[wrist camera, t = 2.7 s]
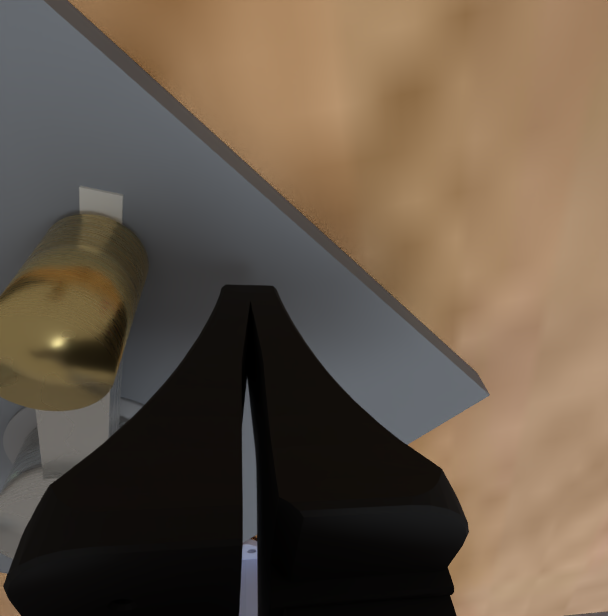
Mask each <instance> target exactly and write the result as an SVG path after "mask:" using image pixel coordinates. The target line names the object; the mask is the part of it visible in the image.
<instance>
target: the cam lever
mask: <svg viewBox="0 0 608 616" xmlns="http://www.w3.org/2000/svg"><path fill="white" fill-rule="evenodd" d="M148 270H149V260H148V255H147V252H146V250H145V248H144V246H143V244H142V243H141V241H140V240H139V239H138V237H137V236H136V235H135V234H134V233H133V232H132V231H130V230H129V229H128V228H127V227H125V226H124V225H122V224H120V223H119V222H116V221H114V220H112V219H110V218H107V217H103V216H99V215H93V214H77V215H72V216H68V217H65V218H63V219H61V220H59V221H58V222H56V223H55V224H54V225H53V226H52V227H51V228H50V229H49V230H48V232H47V233H46V234H45V236H44V237H43V238H42V240H41V241H40V242H39V244H38V245H37V247H36V248H35V249H34V251H33V252H32V253H31V255H30V256H29V257H28V259H27V260H26V262H25V263H24V264H23V266H22V267H21V268H20V270H19V271H18V272H17V274H16V275H15V277H14V278H13V279H12V281H11V282H10V283H9V285H8V286H7V287H6V289H5V290H4V291H3V293H2V294H1V296H0V397H2V398H3V399H6V400H8V401H10V402H12V403H15V404H18V405H21V406H24V407H28V408H32V409H35V410H36V419H37V427H35V428H34V429H33V430H32V431H31V432H30V433H29V434H28V435H27V436H26V438H25V440H24V442H23V444H22V446H21V448H20V451H19V453H18V455H17V457H16V459H15V461H14V464H13V466H12V468H11V470H10V472H9V475H8V477H7V479H6V481H5V483H4V485H3V488H2V490H1V492H0V553H1V554H3V555H5V556H7V557H9V558H11V559H13V558H14V555H15V553H16V550H17V547H18V545H19V542H20V539H21V537H22V534H23V532H24V530H25V528H26V526H27V524H28V522H29V520H30V519H31V517H32V515H33V513H34V511H35V509H36V507H37V505H38V503H39V502H40V500H41V498H42V496H43V495H44V493H45V491H46V490H47V488H48V487H49V485H50V484H51V483H53V482H54V481H56V480H57V479H58V478H60V477H61V476H62V475H63V474H65V473H66V472H67V471H69V470H70V469H71V468H72V467H74V466H75V465H76V464H78V463H79V462H80V461H82V460H83V459H84V458H85V457H87V456H88V455H89V454H91V453H92V452H93V451H94V450H96V449H97V448H98V447H99V446H100V445H102V444H103V443H104V442H105V441H106V440H107V439H108V438H109V437H111V436H112V435H113V434H114V433H115V432H116V431H117V430H118V429H119V428H121V427H122V426H123V425H124V424H125V423H126V421H123V420H120V419H119V417H120V400H121V382H122V364H123V351H124V348H125V345H126V342H127V339H128V335H129V332H130V329H131V326H132V323H133V319H134V316H135V313H136V310H137V306H138V303H139V300H140V297H141V294H142V290H143V287H144V284H145V281H146V277H147V274H148Z"/></svg>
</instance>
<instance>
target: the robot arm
mask: <svg viewBox="0 0 608 616" xmlns="http://www.w3.org/2000/svg"><path fill="white" fill-rule="evenodd" d="M247 380H248V389H249V398H250V408H251V417H252V426H253V435H254V444H255V455H256V483H257V541H255V540H252V539H248V540H247V541H245V542H243V485H242V422H243V413H244V403H245V393H246V384H247ZM468 533H469V530H468V522H467V520H466V517H465V515H464V512H463V510H462V507H461V505H460V503H459V500H458V498H457V496H456V494H455V492H454V490H453V489H452V487H451V485H450V483H449V481H448V479H447V478H446V476H445V474H444V472H443V470H442V469H441V468H440V467H438V466H437V465H436V464H434V463H433V462H431V461H430V460H428V459H427V458H425V457H424V456H422V455H421V454H420V453H418V452H417V451H415V450H414V449H412V448H411V447H409V446H408V445H407V444H405V443H404V442H402V441H401V440H400V439H398V438H397V437H396V436H395V435H393V434H392V433H391V432H390V431H388V430H387V429H386V428H385V427H383V426H382V425H381V424H380V423H379V422H377V421H376V420H375V419H374V418H373V417H372V416H371V415H370V414H369V413H367V412H366V411H365V410H364V409H363V408H362V407H361V406H360V405H359V404H358V403H356V402H355V401H354V400H353V399H352V398H351V397H350V395H349V394H348V393H347V392H346V391H345V390H344V389H343V388H342V387H341V386H340V385H339V384H338V383H337V382H336V380H335V379H334V378H333V377H332V376H331V375H330V374H329V372H328V371H327V370H326V369H325V368H324V366H323V365H322V364H321V363H320V361H319V360H318V359H317V357H316V356H315V355H314V353H313V352H312V350H311V349H310V348H309V346H308V345H307V343H306V342H305V340H304V339H303V337H302V336H301V334H300V333H299V331H298V329H297V328H296V326H295V325H294V323H293V321H292V320H291V318H290V316H289V314H288V312H287V311H286V309H285V307H284V305H283V303H282V301H281V299H280V296H279V294H278V291H277V289H276V288H275V287H274V286H268V285H230V284H226V285H224V286H223V287H222V288H221V291H220V295H219V298H218V300H217V303H216V305H215V307H214V309H213V311H212V313H211V315H210V317H209V319H208V321H207V322H206V324H205V326H204V328H203V329H202V331H201V333H200V335H199V336H198V338H197V339H196V341H195V342H194V344H193V345H192V347H191V348H190V350H189V351H188V353H187V354H186V356H185V357H184V359H183V360H182V361H181V363H180V364H179V365H178V367H177V368H176V369H175V370H174V372H173V373H172V374H171V375H170V377H169V378H168V379H167V380H166V381H165V383H164V384H163V385H162V386H161V387H160V388H159V390H158V391H157V392H156V393H155V394H154V395H153V396H152V397H151V398H150V399H149V400H148V401H147V402H146V404H145V405H144V406H143V407H142V408H141V409H140V410H139V411H138V412H137V413H136V414H135V415H134V416H133V417H132V418H131V419H129V420H128V421H127V422H126V423H125V424H124V425H123V426H122V427H121V428H119V429H118V430H117V431H116V432H115V433H114V434H113V435H112V436H111V437H109V438H108V439H107V440H106V441H105V442H104V443H103V444H102V445H100V446H99V447H98V448H97V449H96V450H94V451H93V452H92V453H91V454H89V455H88V456H87V457H85V458H84V459H83V460H82V461H80V462H79V463H78V464H76V465H75V466H74V467H72V468H71V469H70V470H69V471H67V472H66V473H65V474H63V475H62V476H61V477H60V478H58V479H57V480H56V481H54V482H53V483H51V484H50V485H49V487H48V488H47V490H46V491H45V493H44V495H43V496H42V498H41V500H40V502H39V503H38V505H37V507H36V509H35V511H34V513H33V515H32V517H31V519H30V520H29V522H28V524H27V526H26V528H25V530H24V532H23V534H22V537H21V539H20V542H19V545H18V547H17V550H16V553H15V555H14V558H13V561H12V563H11V566H10V569H9V572H8V574H7V577H6V580H5V583H4V586H3V587H4V589H5V592H6V594H7V597H8V598H9V600H10V602H11V603H12V604H13V605H14V607H15V608H16V609H17V611H18V612H19V613H20V615H21V616H456V613H455V609H454V606H453V603H452V600H451V597H450V595H452V594H453V593H454V585H453V582H452V579H451V576H450V573H449V570H448V566H449V564H450V563H451V561H452V560H453V558H454V557H455V556H456V554H457V553H458V551H459V550H460V548H461V547H462V546H463V544H464V541H465V539H466V537H467V535H468ZM566 616H608V611H607V612H597V613H587V614H577V615H566Z"/></svg>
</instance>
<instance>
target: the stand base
mask: <svg viewBox="0 0 608 616" xmlns="http://www.w3.org/2000/svg"><path fill="white" fill-rule="evenodd" d="M77 214H93V215H99V216H103V217H107V218H110V219H112V220H114V221H116V222H119V223H120V224H122V225H124V226H125V227H127V228H128V229H129V230H130V231H132V232H133V233H134V234H135V235H136V236H137V237H138V239H139V240H140V241H141V243H142V244H143V246H144V248H145V250H146V252H147V255H148V260H149V270H148V274H147V277H146V281H145V284H144V287H143V290H142V294H141V297H140V300H139V303H138V306H137V310H136V313H135V316H134V319H133V323H132V326H131V329H130V332H129V335H128V339H127V342H126V345H125V348H124V351H123V364H122V382H121V400H120V417H119V419H120V420H123V421H126V422H127V421H128V420H129V419H131V418H132V417H133V416H134V415H135V414H136V413H137V412H138V411H139V410H140V409H141V408H142V407H143V406H144V405H145V404H146V402H147V401H148V400H149V399H150V398H151V397H152V396H153V395H154V394H155V393H156V392H157V391H158V390H159V388H160V387H161V386H162V385H163V384H164V383H165V381H166V380H167V379H168V378H169V377H170V375H171V374H172V373H173V372H174V370H175V369H176V368H177V367H178V365H179V364H180V363H181V361H182V360H183V359H184V357H185V356H186V354H187V353H188V351H189V350H190V348H191V347H192V345H193V344H194V342H195V341H196V339H197V338H198V336H199V335H200V333H201V331H202V329H203V328H204V326H205V324H206V322H207V321H208V319H209V317H210V315H211V313H212V311H213V309H214V307H215V305H216V303H217V300H218V298H219V295H220V291H221V288H222V287H223V286H224V285H226V284H230V285H268V286H274V287H275V288H276V289H277V291H278V294H279V296H280V299H281V301H282V303H283V305H284V307H285V309H286V311H287V312H288V314H289V316H290V318H291V320H292V321H293V323H294V325H295V326H296V328H297V329H298V331H299V333H300V334H301V336H302V337H303V339H304V340H305V342H306V343H307V345H308V346H309V348H310V349H311V350H312V352H313V353H314V355H315V356H316V357H317V359H318V360H319V361H320V363H321V364H322V365H323V366H324V368H325V369H326V370H327V371H328V372H329V374H330V375H331V376H332V377H333V378H334V379H335V380H336V382H337V383H338V384H339V385H340V386H341V387H342V388H343V389H344V390H345V391H346V392H347V393H348V394H349V395H350V397H351V398H352V399H353V400H354V401H355V402H356V403H358V404H359V405H360V406H361V407H362V408H363V409H364V410H365V411H366V412H367V413H369V414H370V415H371V416H372V417H373V418H374V419H375V420H376V421H377V422H379V423H380V424H381V425H382V426H383V427H385V428H386V429H387V430H388V431H390V432H391V433H392V434H393V435H395V436H396V437H397V438H398V439H400V440H401V441H402V442H404V443H405V444H409V443H411V442H412V441H414V440H416V439H417V438H419V437H421V436H422V435H424V434H426V433H427V432H429V431H431V430H432V429H434V428H436V427H437V426H439V425H441V424H442V423H444V422H446V421H447V420H449V419H451V418H452V417H454V416H456V415H457V414H459V413H461V412H463V411H464V410H466V409H468V408H469V407H471V406H473V405H474V404H476V403H478V402H479V401H481V400H483V399H484V398H486V397H488V396H489V393H488V391H487V389H486V388H485V386H484V384H483V382H482V381H481V379H480V377H479V375H478V374H477V373H476V372H475V371H474V370H473V369H472V368H471V367H470V366H469V365H468V364H467V363H465V362H464V361H463V360H462V359H461V358H460V357H459V356H458V355H457V354H456V353H454V352H453V351H452V350H451V349H450V348H449V347H448V346H447V345H446V344H445V343H443V342H442V341H441V340H440V339H439V338H438V337H437V336H436V335H435V334H434V333H432V332H431V331H430V330H429V329H428V328H427V327H426V326H425V325H424V324H423V323H421V322H420V321H419V320H418V319H417V318H416V317H415V316H414V315H413V314H412V313H410V312H409V311H408V310H407V309H406V308H405V307H404V306H403V305H402V304H401V303H399V302H398V301H397V300H396V299H395V298H394V297H393V296H392V295H391V294H390V293H388V292H387V291H386V290H385V289H384V288H383V287H382V286H381V285H380V284H379V283H377V282H376V281H375V280H374V279H373V278H372V277H371V276H370V275H369V274H368V273H366V272H365V271H364V270H363V269H362V268H361V267H360V266H359V265H358V264H357V263H355V262H354V261H353V260H352V259H351V258H350V257H349V256H348V255H347V254H346V253H344V252H343V251H342V250H341V249H340V248H339V247H338V246H337V245H336V244H335V243H333V242H332V241H331V240H330V239H329V238H328V237H327V236H326V235H325V234H324V233H322V232H321V231H320V230H319V229H318V228H317V227H316V226H315V225H314V224H313V223H311V222H310V221H309V220H308V219H307V218H306V217H305V216H304V215H303V214H302V213H300V212H299V211H298V210H297V209H296V208H295V207H294V206H293V205H292V204H291V203H289V202H288V201H287V200H286V199H285V198H284V197H283V196H282V195H281V194H280V193H278V192H277V191H276V190H275V189H274V188H273V187H272V186H271V185H270V184H269V183H267V182H266V181H265V180H264V179H263V178H262V177H261V176H260V175H259V174H258V173H256V172H255V171H254V170H253V169H252V168H251V167H250V166H249V165H248V164H247V163H245V162H244V161H243V160H242V159H241V158H240V157H239V156H238V155H237V154H236V153H234V152H233V151H232V150H231V149H230V148H229V147H228V146H227V145H226V144H225V143H223V142H222V141H221V140H220V139H219V138H218V137H217V136H216V135H215V134H214V133H212V132H211V131H210V130H209V129H208V128H207V127H206V126H205V125H204V124H203V123H201V122H200V121H199V120H198V119H197V118H196V117H195V116H194V115H193V114H192V113H190V112H189V111H188V110H187V109H186V108H185V107H184V106H183V105H182V104H181V103H179V102H178V101H177V100H176V99H175V98H174V97H173V96H172V95H171V94H170V93H168V92H167V91H166V90H165V89H164V88H163V87H162V86H161V85H160V84H159V83H157V82H156V81H155V80H154V79H153V78H152V77H151V76H150V75H149V74H148V73H146V72H145V71H144V70H143V69H142V68H141V67H140V66H139V65H138V64H137V63H135V62H134V61H133V60H132V59H131V58H130V57H129V56H128V55H127V54H126V53H124V52H123V51H122V50H121V49H120V48H119V47H118V46H117V45H116V44H115V43H113V42H112V41H111V40H110V39H109V38H108V37H107V36H106V35H105V34H104V33H102V32H101V31H100V30H99V29H98V28H97V27H96V26H95V25H94V24H93V23H91V22H90V21H89V20H88V19H87V18H86V17H85V16H84V15H83V14H82V13H80V12H79V11H78V10H77V9H76V8H75V7H74V6H73V5H72V4H71V3H69V2H68V1H67V0H0V296H1V294H2V293H3V291H4V290H5V289H6V287H7V286H8V285H9V283H10V282H11V281H12V279H13V278H14V277H15V275H16V274H17V272H18V271H19V270H20V268H21V267H22V266H23V264H24V263H25V262H26V260H27V259H28V257H29V256H30V255H31V253H32V252H33V251H34V249H35V248H36V247H37V245H38V244H39V242H40V241H41V240H42V238H43V237H44V236H45V234H46V233H47V232H48V230H49V229H50V228H51V227H52V226H53V225H54V224H55V223H56V222H58V221H59V220H61V219H63V218H65V217H68V216H72V215H77ZM35 427H37V419H36V410H35V409H32V408H28V407H24V406H21V405H18V404H15V403H12V402H10V401H8V400H6V399H3V398H2V397H0V492H1V490H2V488H3V485H4V483H5V481H6V479H7V477H8V475H9V472H10V470H11V468H12V466H13V464H14V461H15V459H16V457H17V455H18V453H19V451H20V448H21V446H22V444H23V442H24V440H25V438H26V436H27V435H28V434H29V433H30V432H31V431H32V430H33V429H34V428H35ZM242 485H243V542H245V541H247V540H248V539H250V538H252V537H253V536H255V535H257V483H256V455H255V444H254V435H253V426H252V417H251V408H250V398H249V389H248V380H247V384H246V393H245V403H244V413H243V422H242ZM12 561H13V559H11V558H9V557H7V556H5V555H3V554H1V553H0V572H2V573H7V574H8V572H9V569H10V566H11V563H12Z"/></svg>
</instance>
